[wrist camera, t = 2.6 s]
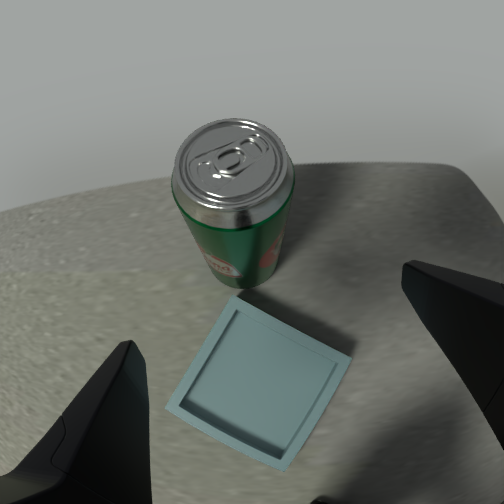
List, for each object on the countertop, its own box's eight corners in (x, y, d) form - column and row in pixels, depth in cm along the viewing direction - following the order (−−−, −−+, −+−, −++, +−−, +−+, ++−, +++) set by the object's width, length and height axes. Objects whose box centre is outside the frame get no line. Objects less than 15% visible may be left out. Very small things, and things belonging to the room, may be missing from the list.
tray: (282, 464, 17) (284, 472, 16) (170, 404, 19) (164, 408, 17) (345, 357, 20) (352, 358, 18) (234, 298, 21) (232, 294, 20)
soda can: (196, 248, 23) (144, 150, 11) (251, 212, 23) (247, 96, 12) (233, 304, 21) (207, 247, 10) (291, 264, 22) (326, 172, 11)
